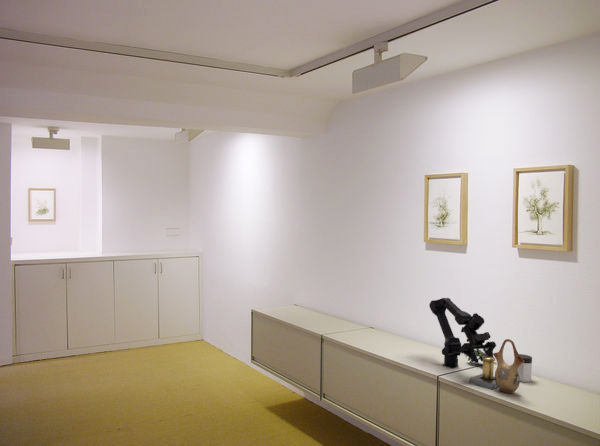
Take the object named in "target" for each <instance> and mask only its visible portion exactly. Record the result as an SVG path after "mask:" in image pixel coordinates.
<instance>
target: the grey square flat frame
mask: <svg viewBox="0 0 600 446" xmlns="http://www.w3.org/2000/svg"><path fill="white" fill-rule="evenodd" d="M470 383H471V384H472V385H475V386H479V387H483V388H487V389H489V390H495V389H497V388H498V386H497V385H496V382H495V376H493V381H486V380H483V379H482V373H480V374H478V375H475V376H471V377H469V384H470ZM498 389H499V388H498Z"/></svg>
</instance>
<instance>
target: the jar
mask: <svg viewBox="0 0 600 446" xmlns="http://www.w3.org/2000/svg"><path fill="white" fill-rule="evenodd" d="M518 354H519V355H520V357H521V358H522V359H523V360H524V363H523V364H521V365H520V366H519V368H518V373H519V376H520V382H522V383H530V382H532V368H533V367H532V366H533V357H532V356H531V355H527V354H522V353H521V354H520V353H518Z"/></svg>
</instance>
